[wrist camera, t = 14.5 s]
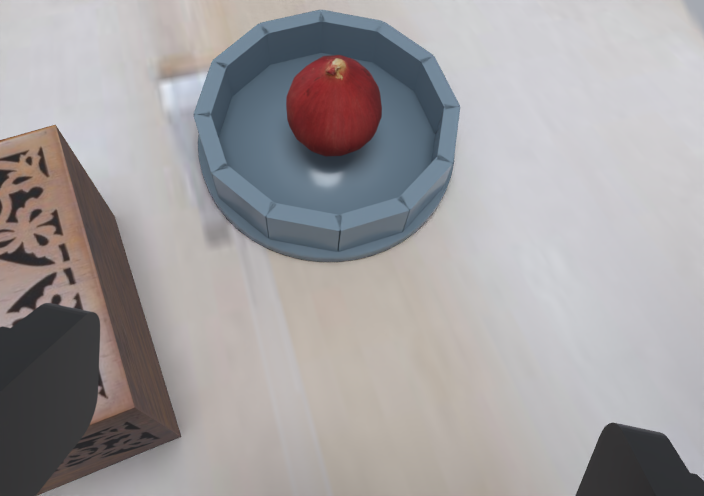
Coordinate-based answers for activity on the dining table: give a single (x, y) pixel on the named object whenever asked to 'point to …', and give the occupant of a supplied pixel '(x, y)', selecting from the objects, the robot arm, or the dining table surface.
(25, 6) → the dining table surface
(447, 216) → the dining table surface
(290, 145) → the bowl
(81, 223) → the tissue box cover
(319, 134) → the onion
